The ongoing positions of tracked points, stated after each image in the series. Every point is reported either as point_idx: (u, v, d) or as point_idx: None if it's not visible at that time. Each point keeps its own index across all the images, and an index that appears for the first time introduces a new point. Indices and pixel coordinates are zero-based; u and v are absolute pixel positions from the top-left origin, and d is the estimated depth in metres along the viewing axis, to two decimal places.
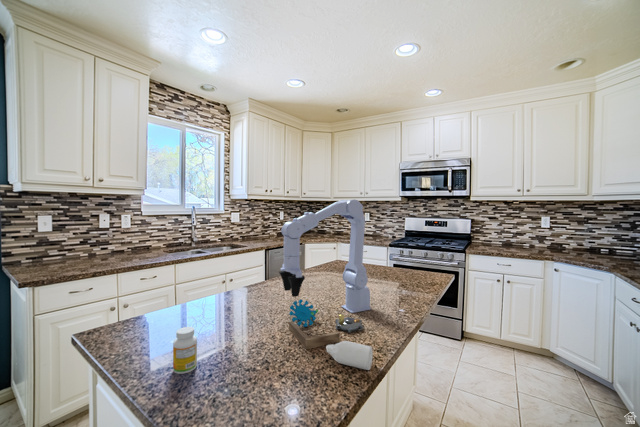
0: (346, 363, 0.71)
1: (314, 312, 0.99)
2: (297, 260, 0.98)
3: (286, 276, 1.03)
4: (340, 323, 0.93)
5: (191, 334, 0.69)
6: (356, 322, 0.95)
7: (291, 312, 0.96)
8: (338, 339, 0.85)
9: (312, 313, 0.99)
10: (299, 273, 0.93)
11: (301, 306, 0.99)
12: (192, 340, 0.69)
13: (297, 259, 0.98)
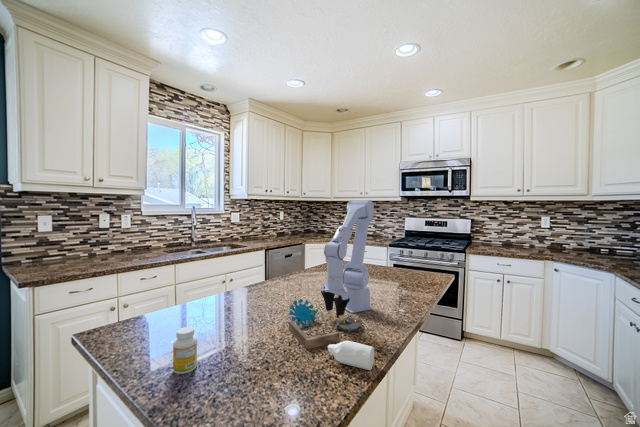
0: (347, 363, 0.71)
1: (314, 312, 1.00)
2: (341, 281, 0.97)
3: (328, 296, 1.02)
4: (340, 323, 0.93)
5: (191, 334, 0.69)
6: (356, 322, 0.95)
7: (291, 312, 0.96)
8: (338, 339, 0.85)
9: (312, 313, 0.99)
10: (345, 295, 0.92)
11: (301, 306, 0.99)
12: (192, 340, 0.69)
13: (341, 280, 0.97)
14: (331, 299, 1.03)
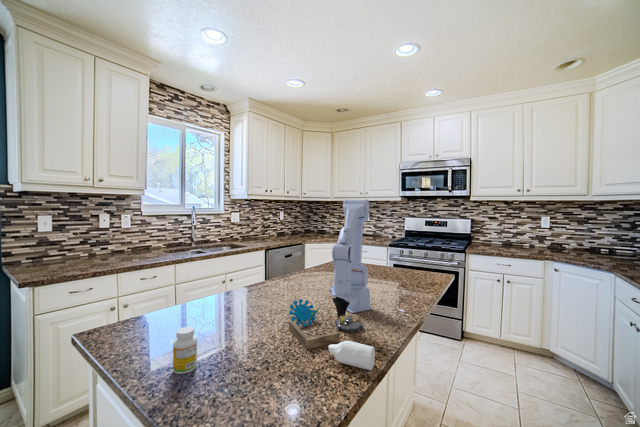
0: (348, 363, 0.71)
1: (314, 312, 1.00)
2: (349, 285, 0.92)
3: (340, 304, 0.94)
4: (341, 324, 0.93)
5: (191, 334, 0.69)
6: (356, 322, 0.96)
7: (291, 311, 0.96)
8: (338, 339, 0.85)
9: (312, 313, 0.99)
10: (354, 300, 0.88)
11: (301, 306, 0.99)
12: (192, 340, 0.69)
13: (349, 284, 0.93)
14: (344, 307, 0.95)
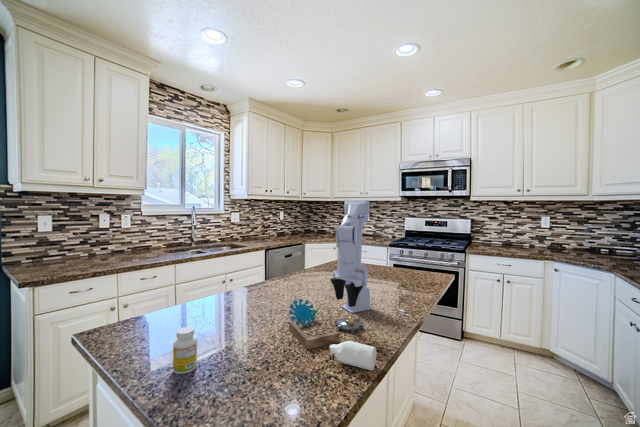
0: (349, 363, 0.71)
1: (314, 312, 1.00)
2: (353, 267, 0.91)
3: (338, 284, 0.95)
4: (353, 325, 0.92)
5: (191, 334, 0.69)
6: None
7: (290, 311, 0.96)
8: (338, 339, 0.85)
9: (312, 313, 0.99)
10: (358, 282, 0.86)
11: (301, 305, 1.00)
12: (192, 340, 0.69)
13: (353, 266, 0.91)
14: (341, 287, 0.96)
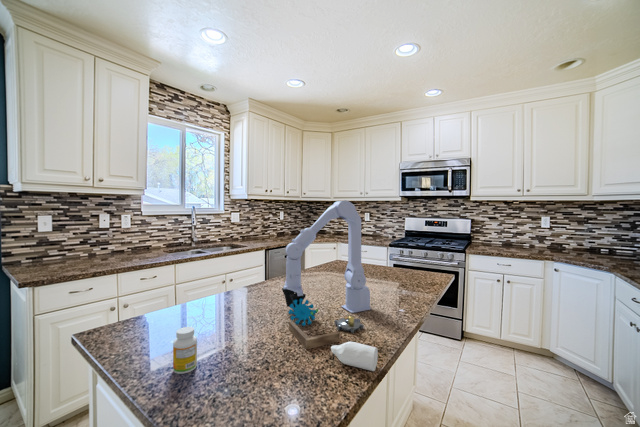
0: (351, 364, 0.70)
1: (314, 312, 1.00)
2: (298, 279, 1.06)
3: (288, 293, 1.10)
4: (353, 325, 0.92)
5: (191, 334, 0.69)
6: None
7: (290, 310, 0.97)
8: (338, 339, 0.85)
9: (312, 312, 0.99)
10: (300, 292, 1.01)
11: (301, 305, 1.00)
12: (192, 340, 0.69)
13: (299, 278, 1.06)
14: None
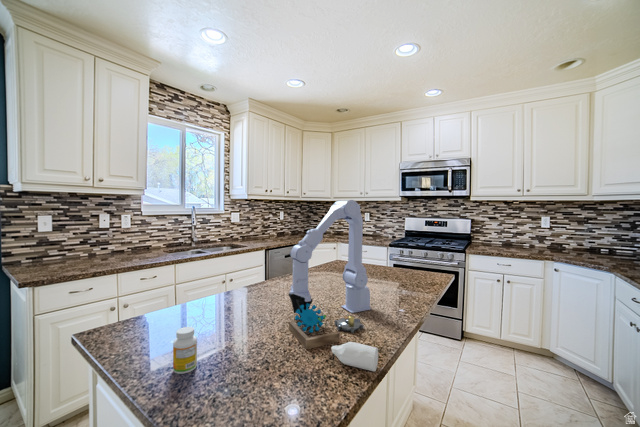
0: (352, 364, 0.70)
1: (321, 317, 0.94)
2: (306, 283, 0.99)
3: (295, 298, 1.04)
4: (353, 325, 0.92)
5: (191, 334, 0.69)
6: None
7: (297, 316, 0.92)
8: (338, 339, 0.85)
9: (319, 318, 0.94)
10: (308, 297, 0.95)
11: (308, 310, 0.94)
12: (192, 340, 0.69)
13: (306, 282, 1.00)
14: None
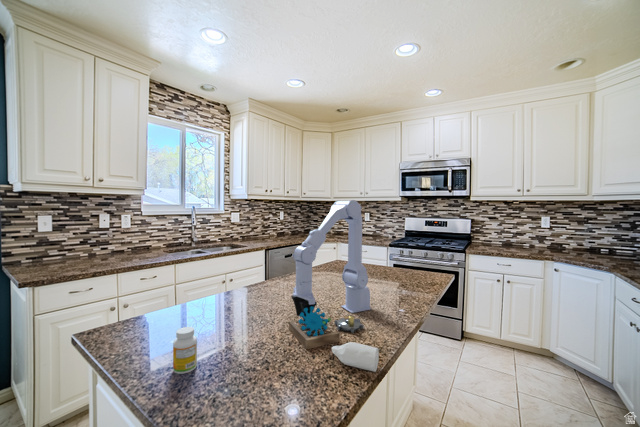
0: (352, 364, 0.70)
1: (326, 321, 0.92)
2: (310, 285, 0.97)
3: (298, 301, 1.01)
4: (353, 325, 0.92)
5: (191, 334, 0.69)
6: None
7: (300, 320, 0.89)
8: (338, 339, 0.85)
9: (324, 322, 0.91)
10: (312, 300, 0.92)
11: (312, 314, 0.92)
12: (192, 340, 0.69)
13: (310, 284, 0.97)
14: None
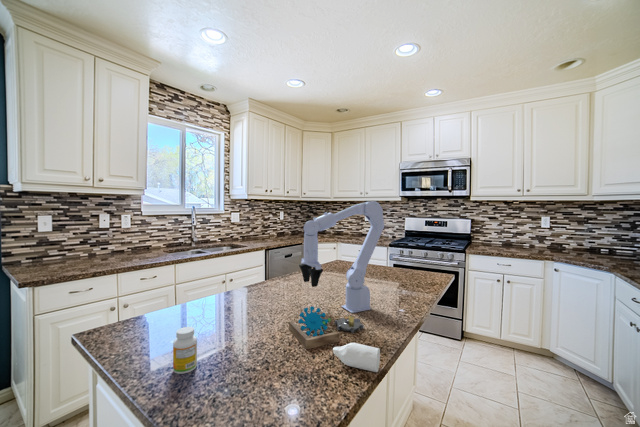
0: (354, 365, 0.70)
1: (326, 321, 0.92)
2: (316, 254, 1.10)
3: (305, 269, 1.15)
4: (353, 325, 0.92)
5: (191, 334, 0.69)
6: None
7: (300, 320, 0.89)
8: (338, 339, 0.85)
9: (324, 322, 0.91)
10: (318, 266, 1.06)
11: (312, 314, 0.92)
12: (192, 340, 0.69)
13: (316, 253, 1.10)
14: (308, 272, 1.16)
